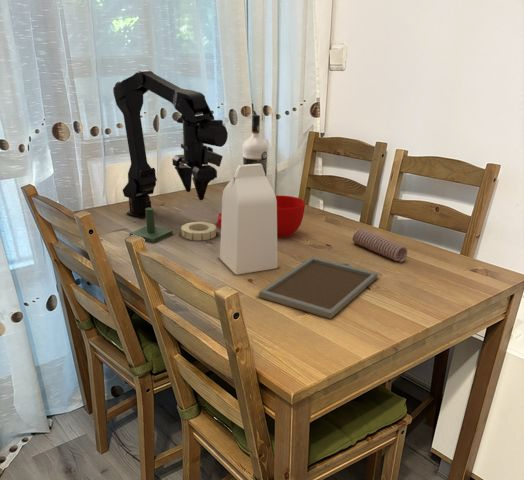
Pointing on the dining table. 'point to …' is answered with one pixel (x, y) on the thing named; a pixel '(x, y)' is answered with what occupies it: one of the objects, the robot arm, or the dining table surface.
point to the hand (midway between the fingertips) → (194, 195)
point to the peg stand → (152, 229)
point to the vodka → (255, 146)
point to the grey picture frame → (319, 286)
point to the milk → (249, 222)
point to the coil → (380, 245)
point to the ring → (198, 231)
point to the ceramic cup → (289, 215)
